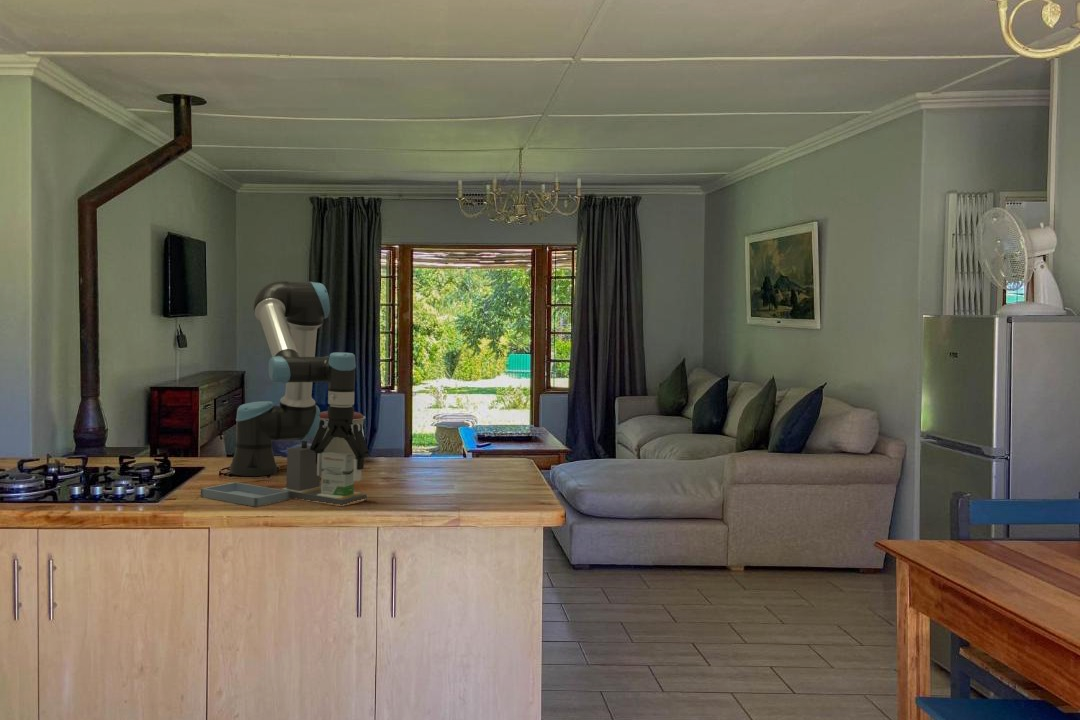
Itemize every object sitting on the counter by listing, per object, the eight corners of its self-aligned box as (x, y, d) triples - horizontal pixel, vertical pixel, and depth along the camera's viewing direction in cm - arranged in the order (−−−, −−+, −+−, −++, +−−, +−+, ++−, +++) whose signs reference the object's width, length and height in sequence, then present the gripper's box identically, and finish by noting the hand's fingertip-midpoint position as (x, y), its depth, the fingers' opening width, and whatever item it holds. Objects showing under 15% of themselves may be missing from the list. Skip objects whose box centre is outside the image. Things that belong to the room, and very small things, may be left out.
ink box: (354, 493, 302) (355, 453, 301) (345, 496, 297) (346, 455, 296) (329, 490, 305) (330, 450, 304) (319, 493, 300) (321, 452, 300)
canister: (339, 468, 356) (341, 407, 355) (302, 461, 366) (303, 402, 365) (374, 462, 371) (376, 404, 370) (338, 456, 381) (339, 399, 380)
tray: (200, 497, 299) (200, 488, 299) (235, 490, 311) (235, 482, 311) (255, 507, 289) (256, 498, 289) (289, 499, 301) (289, 491, 300)
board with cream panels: (278, 496, 305) (278, 488, 305) (303, 490, 315) (304, 483, 314) (342, 507, 293) (342, 499, 293) (366, 501, 303) (366, 493, 303)
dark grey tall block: (286, 488, 305) (287, 442, 304) (306, 484, 313) (308, 438, 312) (299, 490, 302) (300, 443, 301) (319, 486, 310) (320, 440, 309)
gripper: (299, 402, 302) (297, 474, 303) (366, 410, 290) (364, 484, 291) (316, 401, 309) (314, 471, 310) (383, 408, 297) (381, 481, 298)
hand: (338, 477), depth 301 cm, fingers open, 13 cm apart
